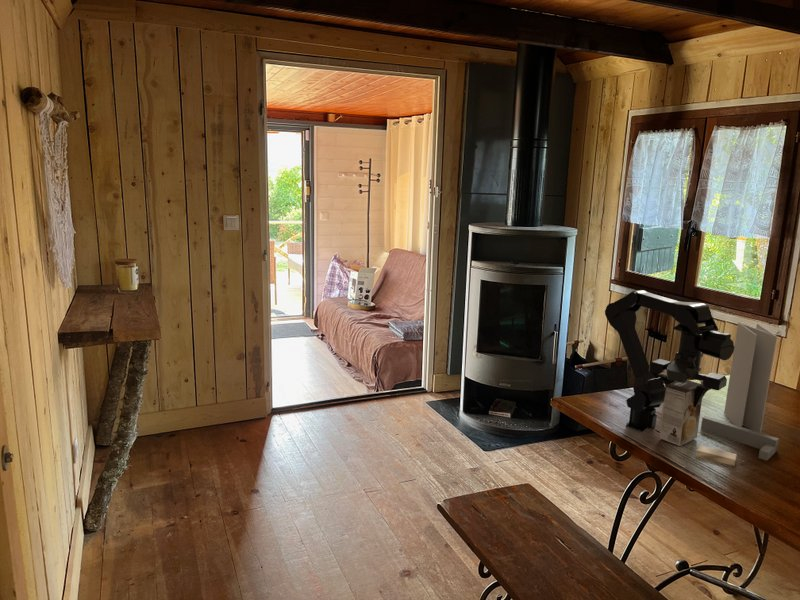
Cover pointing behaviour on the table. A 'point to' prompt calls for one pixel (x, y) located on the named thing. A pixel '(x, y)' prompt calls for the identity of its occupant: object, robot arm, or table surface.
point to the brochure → (750, 376)
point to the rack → (742, 436)
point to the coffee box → (680, 413)
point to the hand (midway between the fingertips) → (682, 403)
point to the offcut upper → (716, 455)
